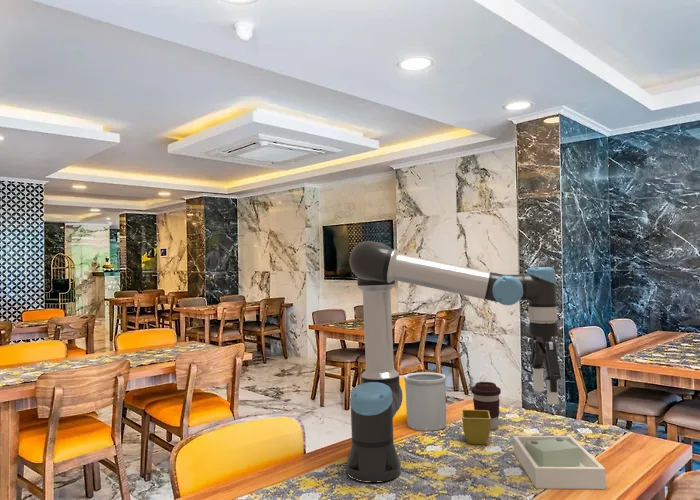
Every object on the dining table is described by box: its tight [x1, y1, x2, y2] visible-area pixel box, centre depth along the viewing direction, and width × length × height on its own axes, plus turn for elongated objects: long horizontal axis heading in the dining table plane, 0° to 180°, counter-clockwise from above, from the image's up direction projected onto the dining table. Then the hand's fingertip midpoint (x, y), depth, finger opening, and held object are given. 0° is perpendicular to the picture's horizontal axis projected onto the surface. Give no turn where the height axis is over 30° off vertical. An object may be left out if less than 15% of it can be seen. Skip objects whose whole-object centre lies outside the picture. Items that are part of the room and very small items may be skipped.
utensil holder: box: [403, 371, 447, 432], centre depth 177 cm, size 15×15×18 cm
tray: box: [512, 435, 607, 490], centre depth 136 cm, size 17×24×5 cm
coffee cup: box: [470, 381, 502, 431], centre depth 173 cm, size 10×10×15 cm
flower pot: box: [461, 409, 491, 445], centre depth 159 cm, size 9×9×9 cm
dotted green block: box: [527, 438, 580, 467], centre depth 138 cm, size 11×8×5 cm
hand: (545, 397), depth 139 cm, fingers open, 13 cm apart
